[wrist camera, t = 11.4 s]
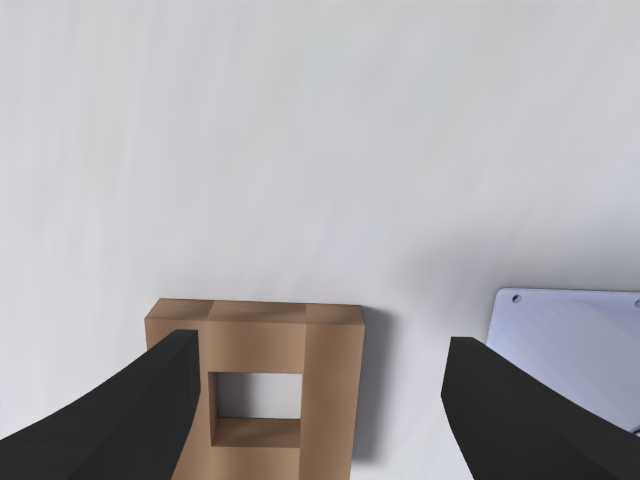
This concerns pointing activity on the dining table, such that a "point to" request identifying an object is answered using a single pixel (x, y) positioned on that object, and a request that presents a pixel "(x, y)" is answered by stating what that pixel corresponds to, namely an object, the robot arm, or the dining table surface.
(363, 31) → the dining table surface
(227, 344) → the holder
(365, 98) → the dining table surface
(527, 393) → the robot arm
